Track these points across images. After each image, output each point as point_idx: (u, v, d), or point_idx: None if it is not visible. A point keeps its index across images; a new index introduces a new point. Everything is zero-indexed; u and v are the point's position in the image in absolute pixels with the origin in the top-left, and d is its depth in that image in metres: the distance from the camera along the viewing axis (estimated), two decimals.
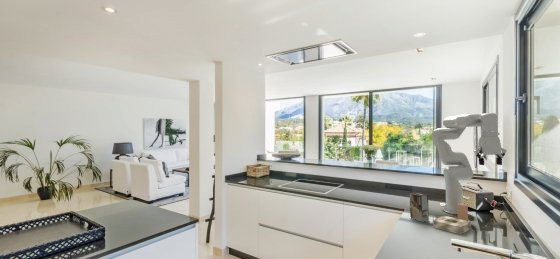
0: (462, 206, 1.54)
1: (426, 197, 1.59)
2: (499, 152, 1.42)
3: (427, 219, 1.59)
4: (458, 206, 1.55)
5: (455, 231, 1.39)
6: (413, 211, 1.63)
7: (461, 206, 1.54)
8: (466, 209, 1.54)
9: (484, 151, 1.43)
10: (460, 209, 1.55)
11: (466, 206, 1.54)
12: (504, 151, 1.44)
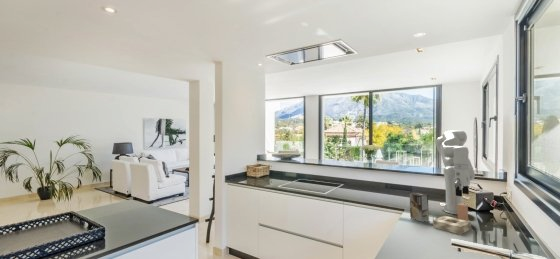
0: (462, 206, 1.54)
1: (426, 197, 1.59)
2: None
3: (427, 219, 1.59)
4: (458, 206, 1.55)
5: (455, 231, 1.39)
6: (413, 211, 1.63)
7: (461, 206, 1.54)
8: (466, 209, 1.54)
9: None
10: (460, 209, 1.55)
11: (466, 206, 1.54)
12: None
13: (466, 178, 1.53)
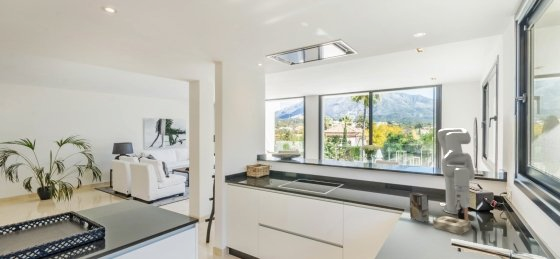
0: None
1: (426, 197, 1.59)
2: None
3: (427, 219, 1.59)
4: None
5: (455, 231, 1.39)
6: (413, 211, 1.63)
7: None
8: (466, 209, 1.54)
9: None
10: None
11: None
12: None
13: (467, 200, 1.53)
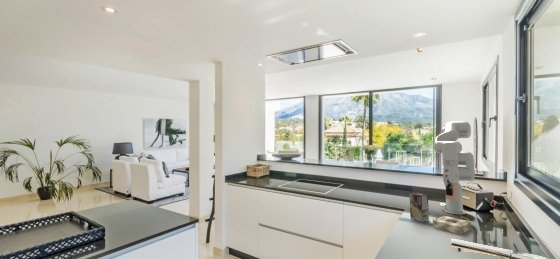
0: None
1: (426, 197, 1.59)
2: None
3: (427, 219, 1.59)
4: None
5: (455, 231, 1.39)
6: (413, 211, 1.63)
7: (449, 182, 1.46)
8: (455, 185, 1.46)
9: None
10: None
11: None
12: None
13: (455, 175, 1.45)
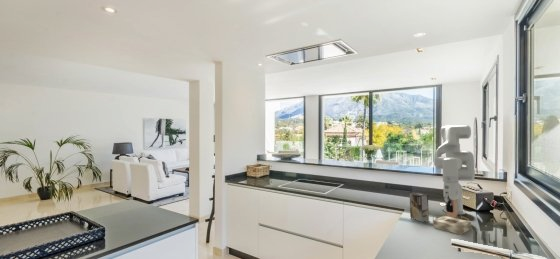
0: None
1: (426, 197, 1.59)
2: None
3: (427, 219, 1.59)
4: None
5: (455, 231, 1.39)
6: (413, 211, 1.63)
7: None
8: (455, 201, 1.45)
9: None
10: None
11: None
12: None
13: (456, 192, 1.45)
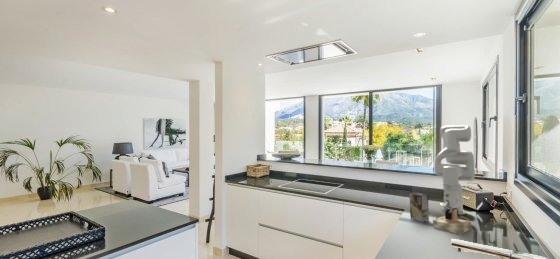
0: (451, 211, 1.45)
1: (426, 197, 1.59)
2: None
3: (427, 219, 1.59)
4: None
5: (455, 231, 1.39)
6: (413, 211, 1.63)
7: None
8: (455, 214, 1.45)
9: None
10: None
11: (455, 211, 1.46)
12: None
13: (456, 200, 1.45)
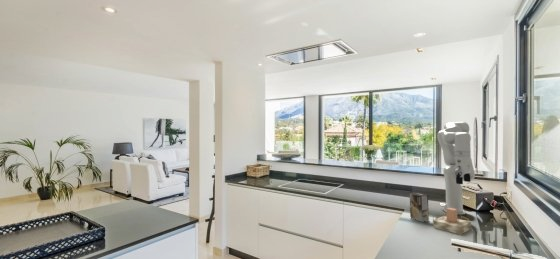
0: (451, 211, 1.45)
1: (426, 197, 1.59)
2: None
3: (427, 219, 1.59)
4: (447, 210, 1.47)
5: (455, 231, 1.39)
6: (413, 211, 1.63)
7: (450, 211, 1.46)
8: (455, 214, 1.45)
9: None
10: (449, 214, 1.46)
11: (455, 211, 1.46)
12: None
13: (468, 166, 1.47)
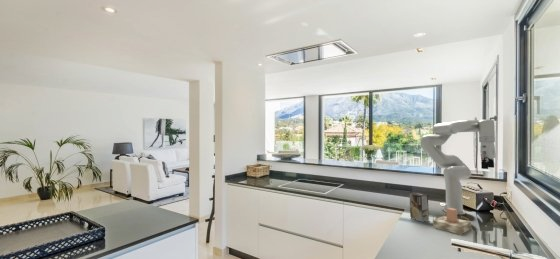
0: (451, 211, 1.45)
1: (426, 197, 1.59)
2: None
3: (427, 219, 1.59)
4: (447, 210, 1.47)
5: (455, 231, 1.39)
6: (413, 211, 1.63)
7: (450, 211, 1.46)
8: (455, 214, 1.45)
9: None
10: (449, 214, 1.46)
11: (455, 211, 1.46)
12: None
13: (493, 151, 1.52)
